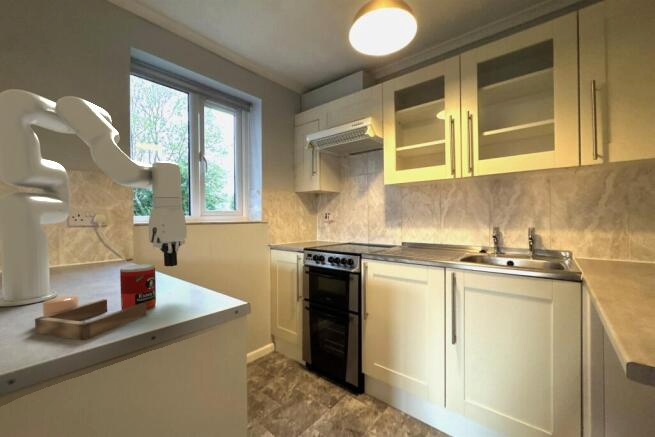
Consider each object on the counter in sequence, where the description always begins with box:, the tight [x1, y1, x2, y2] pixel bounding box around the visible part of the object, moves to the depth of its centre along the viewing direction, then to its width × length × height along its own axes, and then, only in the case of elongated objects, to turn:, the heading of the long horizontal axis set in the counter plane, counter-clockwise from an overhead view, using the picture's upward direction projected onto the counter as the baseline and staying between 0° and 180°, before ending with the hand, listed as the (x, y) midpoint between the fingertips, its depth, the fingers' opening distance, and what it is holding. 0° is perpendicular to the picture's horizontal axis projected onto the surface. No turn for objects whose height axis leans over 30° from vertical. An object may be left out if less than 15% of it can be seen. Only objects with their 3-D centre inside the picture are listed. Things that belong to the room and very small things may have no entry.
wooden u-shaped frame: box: [34, 298, 148, 341], centre depth 65 cm, size 14×14×3 cm
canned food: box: [119, 263, 157, 311], centre depth 75 cm, size 8×8×11 cm
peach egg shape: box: [42, 295, 79, 317], centre depth 67 cm, size 6×6×5 cm
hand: (170, 265), depth 85 cm, fingers closed
